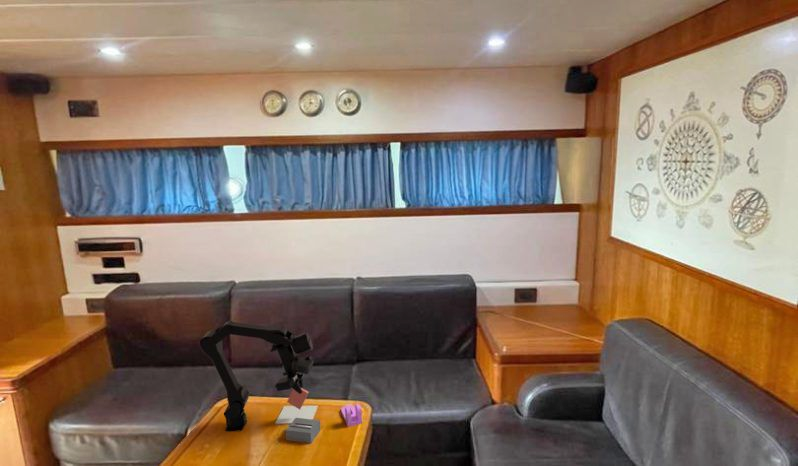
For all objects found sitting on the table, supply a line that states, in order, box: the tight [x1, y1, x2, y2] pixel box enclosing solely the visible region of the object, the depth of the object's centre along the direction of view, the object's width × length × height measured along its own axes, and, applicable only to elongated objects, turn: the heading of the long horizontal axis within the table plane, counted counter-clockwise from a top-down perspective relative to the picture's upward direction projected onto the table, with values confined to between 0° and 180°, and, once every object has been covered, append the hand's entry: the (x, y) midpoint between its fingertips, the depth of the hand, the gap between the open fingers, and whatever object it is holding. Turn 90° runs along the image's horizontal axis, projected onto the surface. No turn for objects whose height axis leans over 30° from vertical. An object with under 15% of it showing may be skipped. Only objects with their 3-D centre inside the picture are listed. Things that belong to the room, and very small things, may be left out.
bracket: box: [340, 403, 363, 428], centre depth 176 cm, size 13×6×7 cm, turn 21°
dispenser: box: [285, 418, 321, 444], centre depth 166 cm, size 10×8×5 cm
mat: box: [274, 405, 319, 425], centre depth 179 cm, size 14×12×1 cm
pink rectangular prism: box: [286, 387, 310, 409], centre depth 174 cm, size 6×1×9 cm, turn 79°
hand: (301, 392), depth 173 cm, fingers closed on pink rectangular prism, 1 cm apart
